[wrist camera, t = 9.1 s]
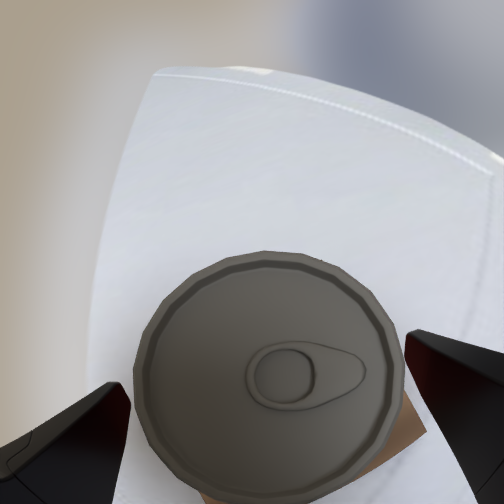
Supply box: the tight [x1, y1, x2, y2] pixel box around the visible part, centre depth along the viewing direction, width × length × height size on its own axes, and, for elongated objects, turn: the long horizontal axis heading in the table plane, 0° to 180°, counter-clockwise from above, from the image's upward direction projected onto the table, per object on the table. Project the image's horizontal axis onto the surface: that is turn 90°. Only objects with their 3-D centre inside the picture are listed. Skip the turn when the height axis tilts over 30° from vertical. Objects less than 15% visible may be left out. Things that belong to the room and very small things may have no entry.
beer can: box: [133, 251, 405, 504], centre depth 10 cm, size 7×7×12 cm
